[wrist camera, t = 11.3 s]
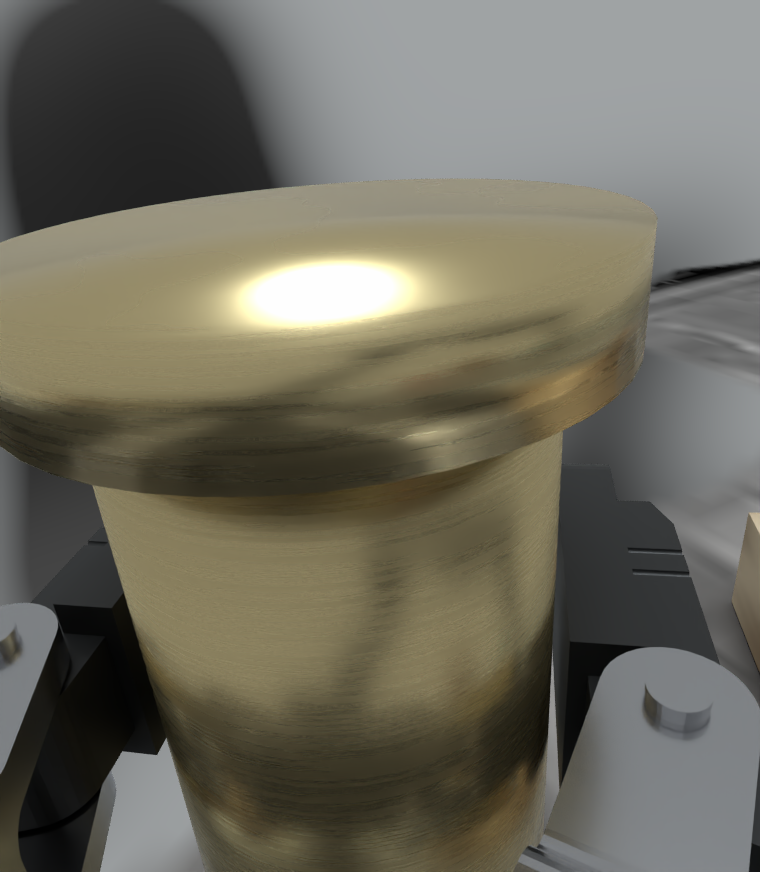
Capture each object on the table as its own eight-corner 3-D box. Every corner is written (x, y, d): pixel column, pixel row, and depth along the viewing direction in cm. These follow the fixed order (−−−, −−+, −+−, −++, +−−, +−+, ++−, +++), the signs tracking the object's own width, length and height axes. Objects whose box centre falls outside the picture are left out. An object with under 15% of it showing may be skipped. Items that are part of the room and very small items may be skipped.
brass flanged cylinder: (398, 774, 15) (346, 172, 10) (646, 991, 11) (786, 193, 6) (154, 987, 12) (-133, 253, 6) (386, 1400, 8) (158, 424, 2)
